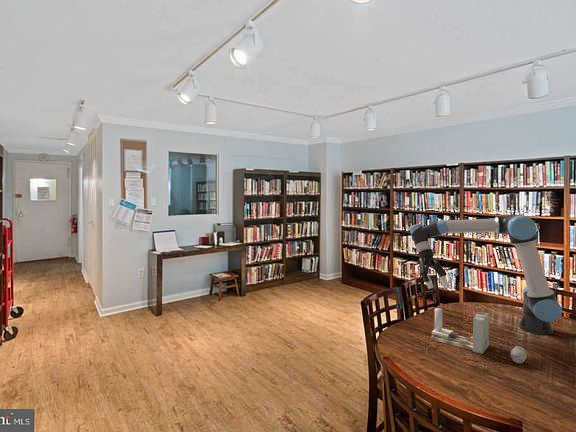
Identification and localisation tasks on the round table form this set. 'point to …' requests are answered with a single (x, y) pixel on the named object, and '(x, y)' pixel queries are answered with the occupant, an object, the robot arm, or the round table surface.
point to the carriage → (438, 326)
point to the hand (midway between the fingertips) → (439, 288)
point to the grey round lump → (518, 354)
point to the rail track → (454, 341)
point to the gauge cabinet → (480, 332)
